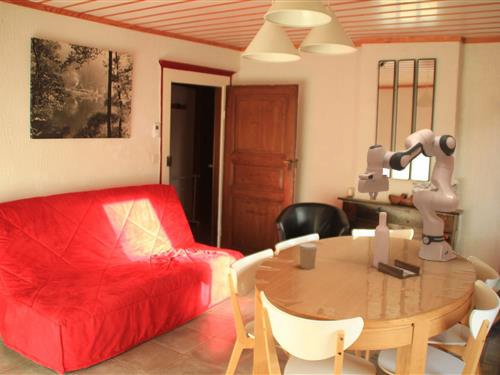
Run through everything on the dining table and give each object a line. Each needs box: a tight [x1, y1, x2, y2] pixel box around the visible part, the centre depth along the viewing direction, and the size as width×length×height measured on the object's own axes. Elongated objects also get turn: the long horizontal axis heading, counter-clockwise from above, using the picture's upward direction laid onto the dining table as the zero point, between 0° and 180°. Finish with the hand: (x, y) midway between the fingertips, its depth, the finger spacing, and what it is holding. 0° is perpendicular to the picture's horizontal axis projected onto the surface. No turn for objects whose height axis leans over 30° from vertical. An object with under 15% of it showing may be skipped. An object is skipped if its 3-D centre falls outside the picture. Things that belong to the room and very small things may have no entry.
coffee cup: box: [299, 242, 318, 270], centre depth 274 cm, size 9×9×12 cm
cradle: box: [377, 258, 421, 280], centre depth 266 cm, size 14×16×4 cm
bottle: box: [372, 211, 390, 269], centre depth 276 cm, size 8×8×30 cm
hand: (373, 200), depth 280 cm, fingers closed
